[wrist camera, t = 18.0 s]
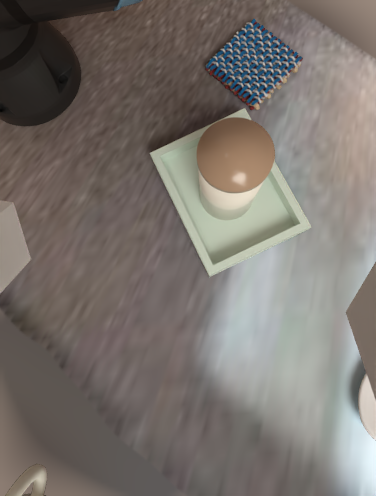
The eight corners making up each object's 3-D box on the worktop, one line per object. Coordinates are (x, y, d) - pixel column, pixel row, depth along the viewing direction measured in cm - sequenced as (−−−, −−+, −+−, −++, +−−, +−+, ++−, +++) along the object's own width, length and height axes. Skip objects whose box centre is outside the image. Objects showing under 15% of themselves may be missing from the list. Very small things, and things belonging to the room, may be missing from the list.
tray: (152, 161, 43) (149, 153, 40) (242, 118, 43) (244, 108, 40) (209, 277, 40) (209, 276, 37) (305, 231, 40) (311, 227, 38)
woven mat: (304, 66, 44) (309, 56, 42) (254, 116, 43) (256, 107, 41) (251, 24, 46) (253, 12, 44) (201, 72, 45) (201, 61, 43)
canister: (189, 182, 41) (183, 137, 29) (238, 159, 41) (252, 105, 29) (213, 230, 40) (217, 203, 28) (264, 206, 40) (289, 169, 28)
